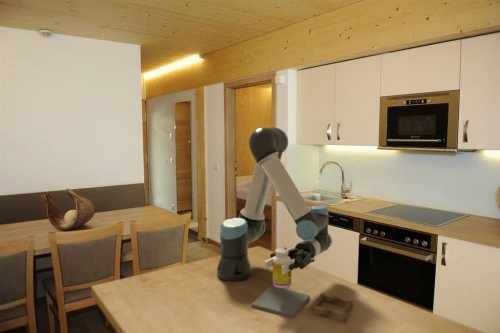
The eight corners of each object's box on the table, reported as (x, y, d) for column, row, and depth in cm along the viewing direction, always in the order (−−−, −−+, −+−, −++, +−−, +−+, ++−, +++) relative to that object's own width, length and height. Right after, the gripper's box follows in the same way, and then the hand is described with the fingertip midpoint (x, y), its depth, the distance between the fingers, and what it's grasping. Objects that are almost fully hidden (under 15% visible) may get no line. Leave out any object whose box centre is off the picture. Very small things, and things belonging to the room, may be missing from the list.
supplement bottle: (290, 289, 123) (290, 254, 122) (271, 288, 124) (271, 253, 123) (292, 281, 130) (291, 247, 128) (274, 280, 131) (273, 246, 129)
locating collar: (310, 313, 119) (311, 306, 119) (321, 299, 129) (321, 292, 129) (344, 322, 114) (345, 315, 114) (353, 306, 124) (353, 300, 124)
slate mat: (251, 306, 125) (251, 303, 125) (270, 288, 139) (270, 286, 138) (293, 318, 117) (293, 315, 117) (309, 297, 131) (309, 295, 131)
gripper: (329, 264, 134) (298, 285, 116) (286, 253, 146) (252, 271, 129) (329, 245, 133) (297, 263, 116) (286, 236, 146) (251, 251, 128)
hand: (273, 267), depth 122 cm, fingers closed on supplement bottle, 7 cm apart
